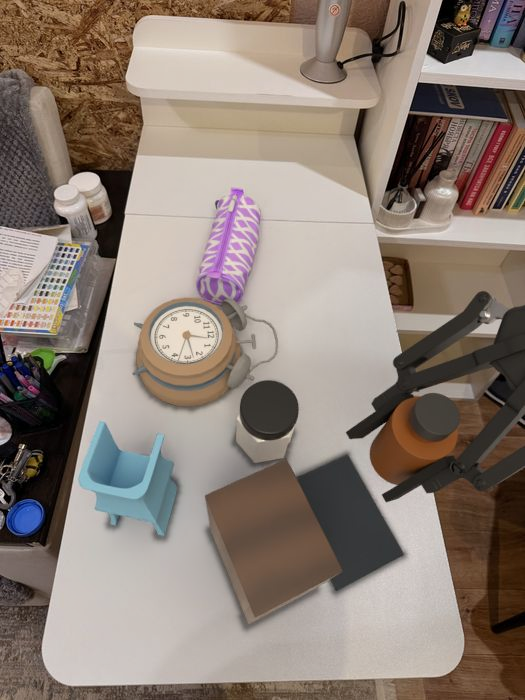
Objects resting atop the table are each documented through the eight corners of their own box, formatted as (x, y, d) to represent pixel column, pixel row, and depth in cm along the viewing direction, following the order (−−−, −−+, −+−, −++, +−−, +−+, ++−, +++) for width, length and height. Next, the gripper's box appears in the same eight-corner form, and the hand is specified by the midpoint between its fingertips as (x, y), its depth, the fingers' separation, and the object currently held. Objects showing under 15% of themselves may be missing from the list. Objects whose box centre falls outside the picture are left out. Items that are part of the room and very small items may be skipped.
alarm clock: (130, 289, 81) (273, 282, 84) (139, 320, 89) (269, 314, 92) (126, 385, 73) (286, 375, 75) (136, 410, 81) (280, 401, 83)
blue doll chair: (179, 481, 76) (165, 433, 59) (164, 536, 72) (144, 502, 55) (128, 470, 76) (98, 420, 59) (110, 524, 72) (73, 487, 55)
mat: (403, 555, 72) (404, 554, 72) (336, 591, 70) (336, 591, 69) (347, 455, 79) (347, 454, 79) (284, 484, 76) (284, 483, 76)
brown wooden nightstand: (315, 588, 70) (343, 570, 52) (248, 624, 67) (255, 617, 50) (273, 501, 75) (286, 458, 58) (210, 530, 73) (204, 495, 55)
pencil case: (216, 217, 103) (215, 180, 94) (261, 223, 102) (264, 187, 94) (195, 307, 92) (192, 274, 83) (246, 314, 91) (248, 281, 83)
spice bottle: (437, 471, 49) (487, 430, 40) (389, 495, 48) (428, 458, 38) (406, 421, 52) (445, 371, 42) (358, 443, 50) (389, 396, 41)
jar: (280, 472, 77) (288, 445, 67) (229, 454, 78) (230, 425, 68) (297, 420, 82) (307, 387, 71) (249, 404, 83) (252, 369, 72)
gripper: (716, 415, 36) (443, 554, 46) (541, 230, 44) (341, 383, 54) (730, 414, 30) (412, 574, 40) (525, 201, 38) (302, 379, 48)
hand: (371, 464), depth 47 cm, fingers closed on spice bottle, 6 cm apart
